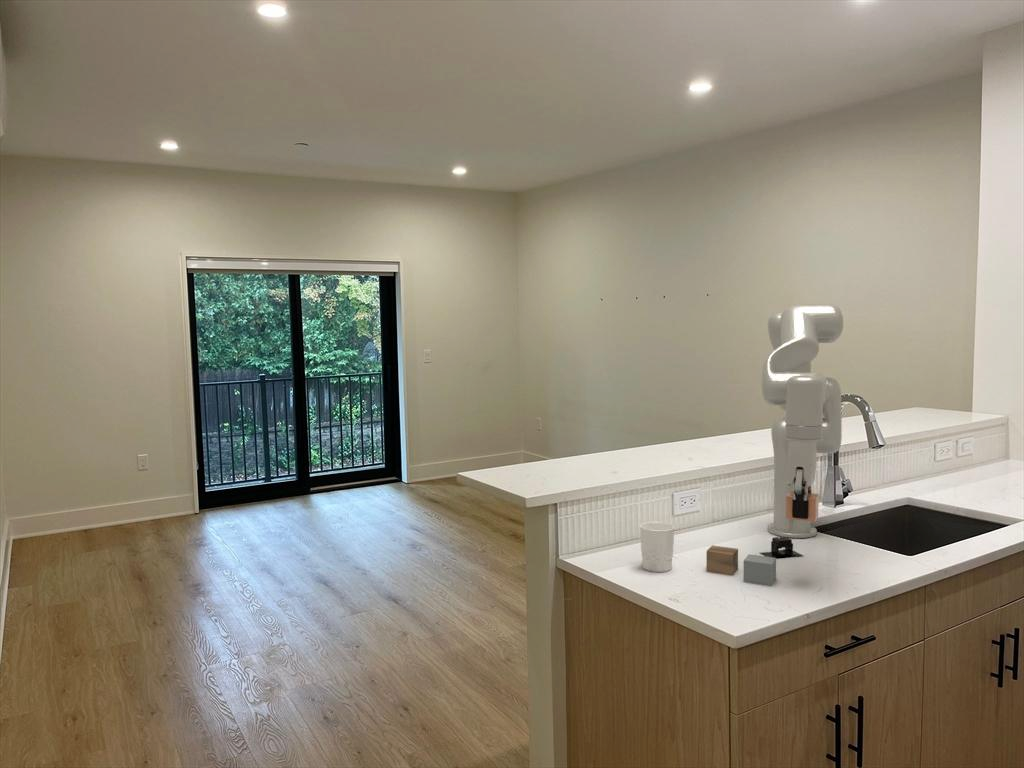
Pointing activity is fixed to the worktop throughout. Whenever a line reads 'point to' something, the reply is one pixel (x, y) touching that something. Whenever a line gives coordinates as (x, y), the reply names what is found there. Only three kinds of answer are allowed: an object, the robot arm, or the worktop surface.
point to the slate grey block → (759, 570)
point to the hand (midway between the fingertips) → (802, 514)
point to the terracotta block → (811, 509)
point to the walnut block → (722, 560)
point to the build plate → (779, 544)
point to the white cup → (657, 546)
